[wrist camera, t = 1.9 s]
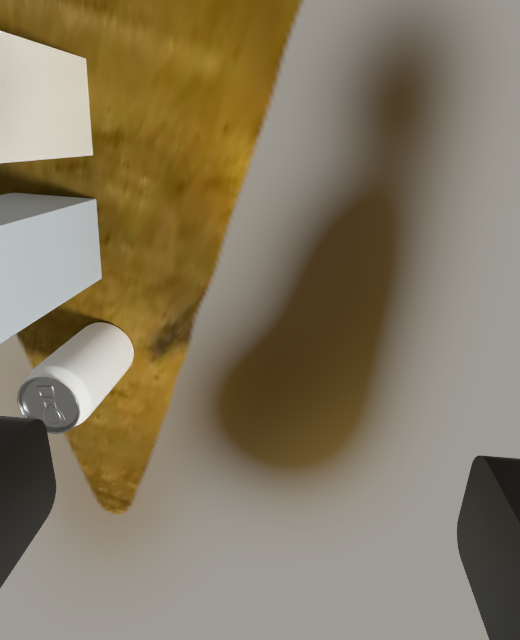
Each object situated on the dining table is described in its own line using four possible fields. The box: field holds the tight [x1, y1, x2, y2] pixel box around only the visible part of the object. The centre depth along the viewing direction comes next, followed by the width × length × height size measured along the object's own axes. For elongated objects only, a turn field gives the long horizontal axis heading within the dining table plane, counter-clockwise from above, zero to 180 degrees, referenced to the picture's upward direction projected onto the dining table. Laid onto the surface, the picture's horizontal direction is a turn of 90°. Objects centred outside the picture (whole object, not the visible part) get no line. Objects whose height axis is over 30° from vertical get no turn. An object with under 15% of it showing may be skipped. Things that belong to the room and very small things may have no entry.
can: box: [17, 322, 134, 434], centre depth 46 cm, size 6×6×12 cm
